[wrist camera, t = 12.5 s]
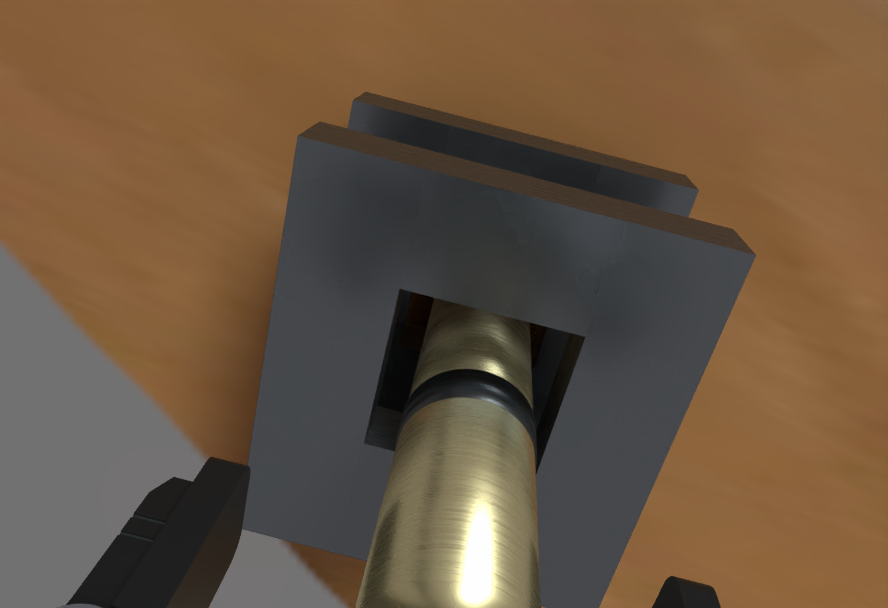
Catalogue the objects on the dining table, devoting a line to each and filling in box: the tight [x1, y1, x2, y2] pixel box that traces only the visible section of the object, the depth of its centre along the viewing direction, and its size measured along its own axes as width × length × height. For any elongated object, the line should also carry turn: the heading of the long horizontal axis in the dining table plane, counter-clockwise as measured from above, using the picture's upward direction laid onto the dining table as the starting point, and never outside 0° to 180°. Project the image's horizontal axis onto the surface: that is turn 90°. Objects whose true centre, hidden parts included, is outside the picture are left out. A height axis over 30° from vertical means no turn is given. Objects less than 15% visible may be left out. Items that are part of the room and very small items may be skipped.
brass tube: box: [355, 298, 541, 608], centre depth 20 cm, size 3×3×18 cm
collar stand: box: [242, 92, 756, 608], centre depth 24 cm, size 12×11×10 cm
